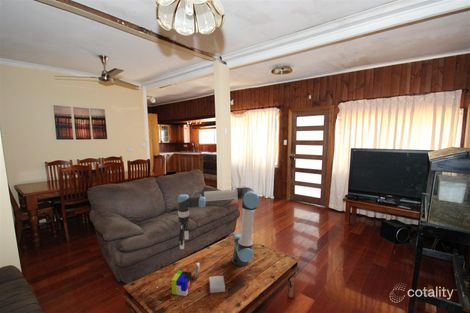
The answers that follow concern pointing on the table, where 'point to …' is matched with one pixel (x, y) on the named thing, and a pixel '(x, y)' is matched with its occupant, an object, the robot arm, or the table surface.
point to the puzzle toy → (181, 283)
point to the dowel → (197, 270)
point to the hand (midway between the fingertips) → (184, 243)
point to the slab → (217, 284)
